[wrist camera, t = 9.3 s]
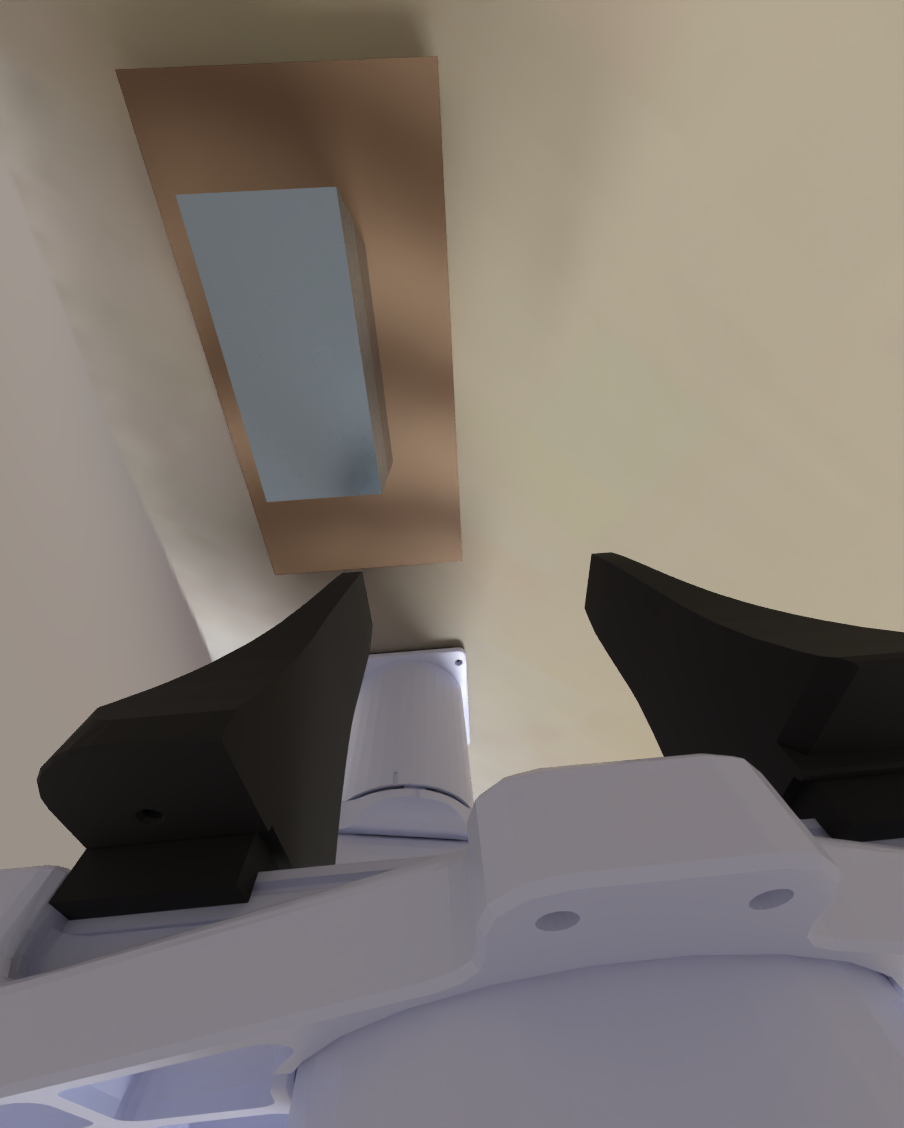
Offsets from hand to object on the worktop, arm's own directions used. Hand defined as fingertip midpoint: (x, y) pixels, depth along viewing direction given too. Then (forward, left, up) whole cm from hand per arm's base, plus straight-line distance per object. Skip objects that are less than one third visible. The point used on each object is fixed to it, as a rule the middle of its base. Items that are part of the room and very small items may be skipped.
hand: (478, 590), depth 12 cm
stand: (+6, +5, -9) cm, 12 cm away
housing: (+6, +5, -8) cm, 11 cm away
